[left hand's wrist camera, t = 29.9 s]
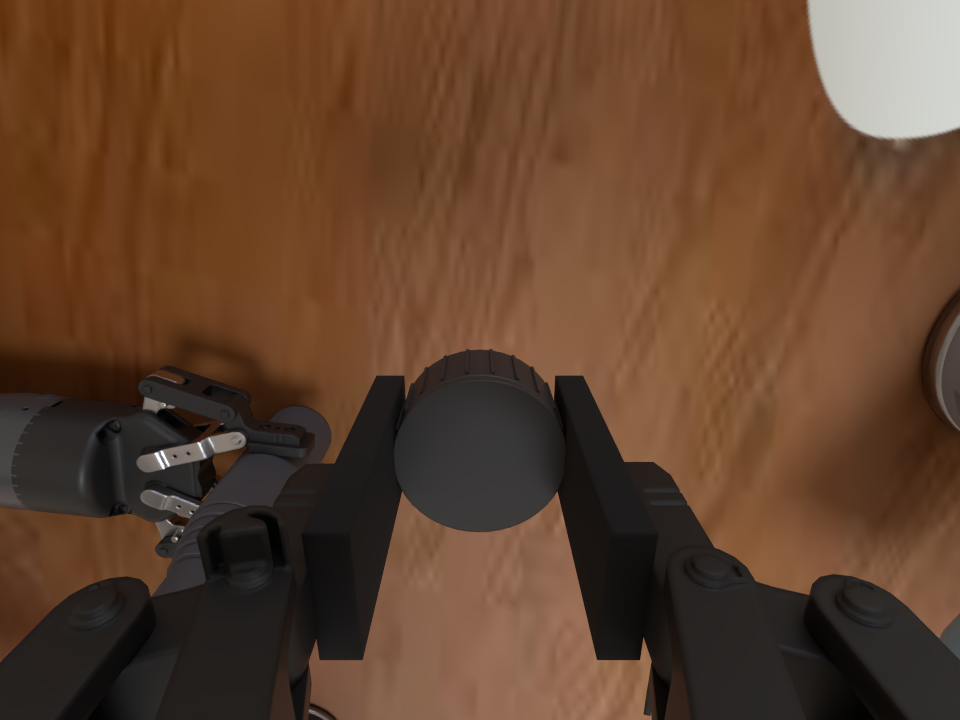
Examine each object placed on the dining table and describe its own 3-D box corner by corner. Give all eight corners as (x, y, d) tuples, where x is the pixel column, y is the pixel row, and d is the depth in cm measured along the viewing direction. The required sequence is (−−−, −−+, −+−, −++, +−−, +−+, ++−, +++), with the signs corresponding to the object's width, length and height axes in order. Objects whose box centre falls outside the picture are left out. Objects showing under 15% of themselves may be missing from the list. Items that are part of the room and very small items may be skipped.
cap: (529, 500, 16) (537, 550, 14) (386, 466, 15) (372, 511, 13) (579, 371, 14) (596, 405, 12) (422, 328, 14) (413, 357, 12)
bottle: (258, 442, 42) (98, 642, 24) (284, 394, 40) (134, 571, 23) (314, 471, 43) (198, 684, 25) (342, 425, 41) (240, 618, 24)
